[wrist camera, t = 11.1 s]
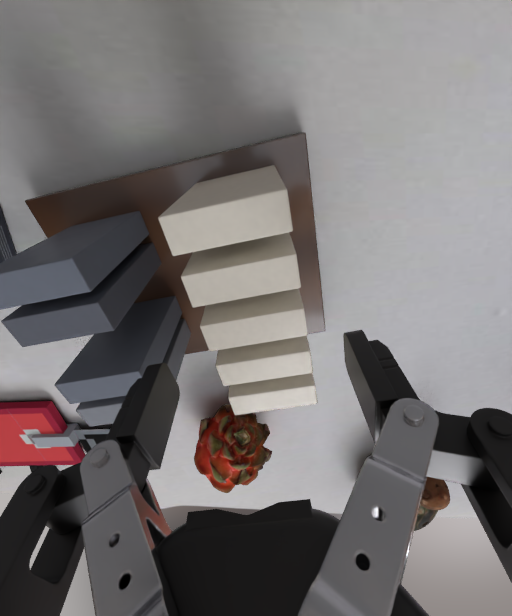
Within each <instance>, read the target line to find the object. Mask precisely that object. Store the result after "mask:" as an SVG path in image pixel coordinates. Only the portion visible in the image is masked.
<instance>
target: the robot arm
mask: <svg viewBox="0 0 512 616" xmlns="http://www.w3.org/2000/svg"><path fill="white" fill-rule="evenodd" d="M344 352H345V363H346V368H347V371H348V374H349V377H350V380H351V382H352V385H353V388H354V390H355V393H356V395H357V398H358V401H359V403H360V406H361V409H362V411H363V414H364V416H365V419H366V422H367V424H368V427H369V430H370V432H371V435H372V437H373V440H374V443H376V445H375V447H374V450H373V452H372V454H371V456H368V457H367V458H366V460H365V461H364V464H363V466H362V468H361V471H360V473H359V476H358V478H357V480H356V483H355V485H354V488H353V490H352V493H351V495H350V497H349V500H348V502H347V505H346V507H345V510H344V512H343V515H342V517H341V520H339V519H337V518H335V517H334V516H332V515H330V514H328V513H326V512H323V511H320V510H316V509H312V506H311V502H310V499H307V500H297V501H288V502H279V503H276V504H274V505H272V506H269V507H267V508H264V509H262V510H260V511H257V512H255V513H253V514H250V515H242V514H237V513H233V512H228V511H223V510H219V509H213V510H204V511H194V512H188V516H187V522H186V523H185V524H183V525H181V526H180V527H178V528H177V529H175V530H174V531H171V529H170V528H169V526H168V524H167V523H166V521H165V519H164V516H163V514H162V512H161V509H160V507H159V504H158V502H157V499H156V497H155V495H154V492H153V490H152V487H151V485H150V482H149V481H148V479H147V476H148V472H149V470H154V469H160V467H161V463H162V459H163V456H164V452H165V448H166V445H167V441H168V438H169V434H170V430H171V427H172V423H173V419H174V416H175V412H176V408H177V405H178V401H179V396H180V392H179V386H178V384H177V382H176V380H175V378H174V376H173V374H172V373H171V371H170V369H169V367H168V365H167V364H166V363H159V364H153V365H148V366H147V367H146V369H145V372H144V374H143V376H142V378H138V379H137V380H136V382H135V383H134V384H133V385H132V386H131V387H130V389H129V391H128V393H127V395H126V397H125V400H124V401H123V403H122V406H121V409H120V410H119V412H118V414H117V416H116V418H115V420H114V423H113V425H112V427H111V429H110V431H109V433H108V435H107V437H106V439H105V441H102V442H100V443H98V444H97V445H95V446H94V447H93V448H92V449H90V450H89V451H88V453H87V454H86V455H85V457H84V458H83V460H82V462H80V463H78V464H75V465H73V466H71V467H69V468H66V469H64V470H62V471H59V470H58V469H57V468H56V467H55V466H53V465H46V466H43V467H41V468H39V469H37V470H35V471H34V472H32V473H31V474H30V475H29V476H28V477H27V478H26V479H25V480H24V481H23V482H22V483H21V484H20V486H19V487H18V489H17V490H16V492H15V494H14V495H13V497H12V499H11V500H10V502H9V503H8V505H7V507H6V509H5V510H4V512H3V513H2V515H1V517H0V616H60V613H61V610H62V607H63V605H64V602H65V599H66V596H67V594H68V591H69V588H70V585H71V582H72V580H73V577H74V574H75V571H76V569H77V566H78V563H79V560H80V557H81V555H82V552H83V549H84V547H85V553H86V560H87V565H88V572H89V578H90V584H91V591H92V597H93V602H94V609H95V615H96V616H429V615H428V614H427V613H426V612H425V611H424V610H423V608H422V607H421V606H420V605H419V604H418V603H417V602H416V600H415V599H414V598H413V597H412V596H411V595H410V594H409V593H408V592H407V591H406V589H405V588H404V587H403V586H402V585H401V582H402V578H403V574H404V570H405V566H406V562H407V558H408V554H409V550H410V546H411V541H412V537H413V533H414V529H415V524H416V520H417V516H418V512H419V508H420V504H421V500H422V496H423V492H424V488H425V484H426V480H427V477H431V478H436V479H441V480H445V481H450V482H455V483H459V484H461V485H462V487H463V489H464V491H465V493H466V495H467V497H468V499H469V501H470V503H471V505H472V507H473V509H474V510H475V512H476V514H477V516H478V518H479V520H480V522H481V524H482V526H483V528H484V530H485V532H486V534H487V536H488V538H489V540H490V542H491V543H492V546H493V547H494V549H495V551H496V553H497V555H498V557H499V559H500V561H501V563H502V565H503V567H504V569H505V571H506V573H507V575H508V576H509V579H510V581H511V582H512V414H510V413H507V412H505V411H502V410H499V409H493V408H483V409H479V410H477V411H475V412H474V413H473V414H472V415H471V417H464V416H457V415H450V414H444V413H441V412H438V411H435V410H434V409H433V408H432V407H430V406H429V405H428V404H426V403H424V402H423V401H421V400H420V399H419V398H418V397H417V395H416V393H415V392H414V390H413V388H412V387H411V385H410V383H409V382H408V380H407V378H406V377H405V375H404V373H403V372H402V370H401V368H400V367H399V366H398V364H397V362H396V360H395V359H394V357H393V355H392V354H391V352H390V350H389V349H388V347H387V346H385V345H384V344H382V343H381V342H380V341H378V340H374V341H368V340H367V338H366V336H365V334H364V332H363V331H362V330H359V331H353V332H347V333H344ZM45 526H47V527H49V528H50V529H49V531H48V533H47V535H46V537H45V540H44V542H43V544H42V546H41V548H40V550H39V553H38V555H37V557H36V559H35V561H34V563H33V566H32V568H31V570H30V568H29V563H30V558H31V555H32V553H33V551H34V549H35V547H36V545H37V543H38V540H39V538H40V536H41V534H42V532H43V530H44V528H45Z"/></svg>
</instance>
